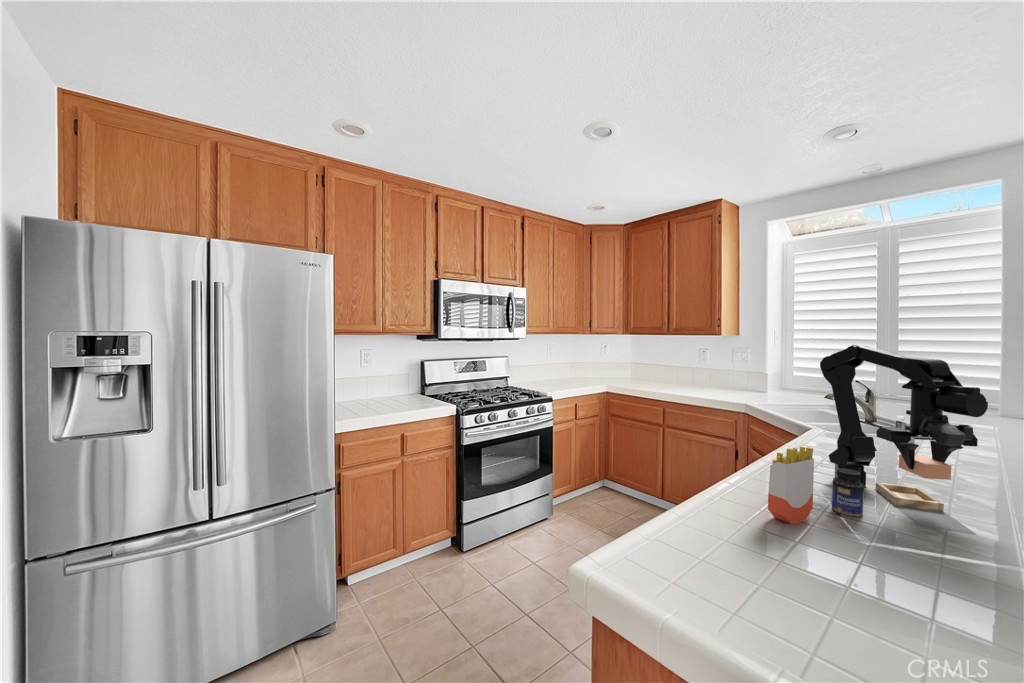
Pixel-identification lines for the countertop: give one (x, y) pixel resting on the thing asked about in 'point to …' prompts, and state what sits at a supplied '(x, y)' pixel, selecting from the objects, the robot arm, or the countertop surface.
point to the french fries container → (792, 485)
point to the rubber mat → (933, 519)
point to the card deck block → (927, 468)
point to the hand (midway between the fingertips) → (923, 469)
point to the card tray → (909, 497)
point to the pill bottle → (847, 493)
